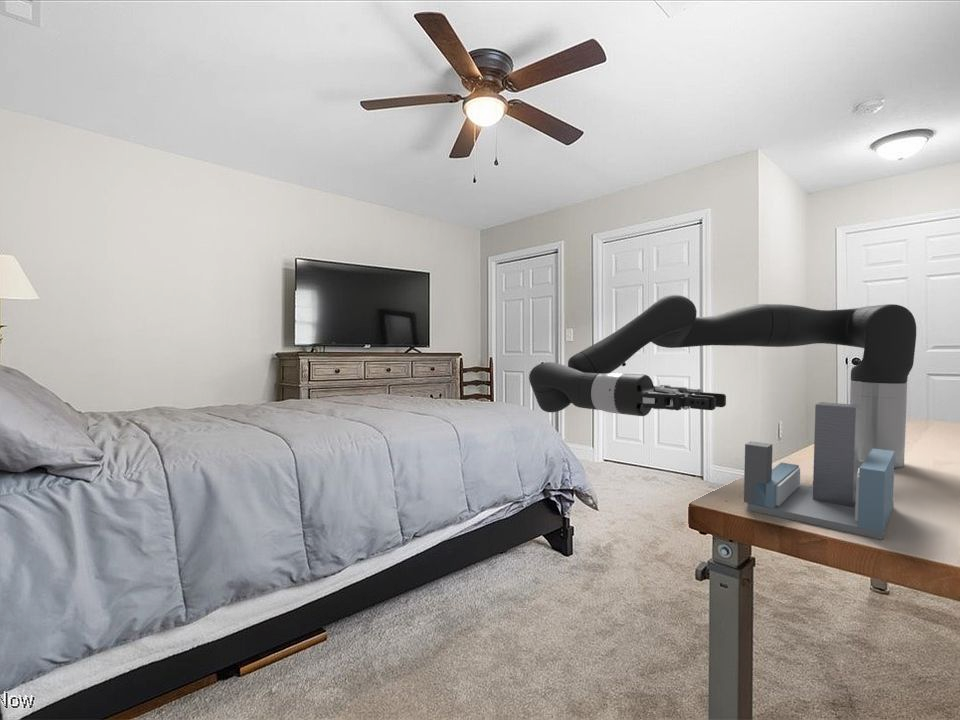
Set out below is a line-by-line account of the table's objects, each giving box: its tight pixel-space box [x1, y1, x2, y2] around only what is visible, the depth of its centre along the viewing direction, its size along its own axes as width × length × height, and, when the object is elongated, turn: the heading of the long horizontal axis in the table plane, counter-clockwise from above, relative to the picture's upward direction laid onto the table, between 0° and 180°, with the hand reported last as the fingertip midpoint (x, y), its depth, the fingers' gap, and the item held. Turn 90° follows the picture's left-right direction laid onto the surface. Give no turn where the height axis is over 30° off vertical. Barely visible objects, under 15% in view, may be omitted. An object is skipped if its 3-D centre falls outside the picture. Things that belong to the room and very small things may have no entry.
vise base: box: [746, 448, 895, 541], centre depth 74 cm, size 17×16×9 cm
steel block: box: [812, 401, 860, 507], centre depth 75 cm, size 4×5×15 cm
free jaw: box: [743, 440, 801, 508], centre depth 78 cm, size 16×4×9 cm, turn 136°
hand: (719, 402), depth 78 cm, fingers open, 4 cm apart
